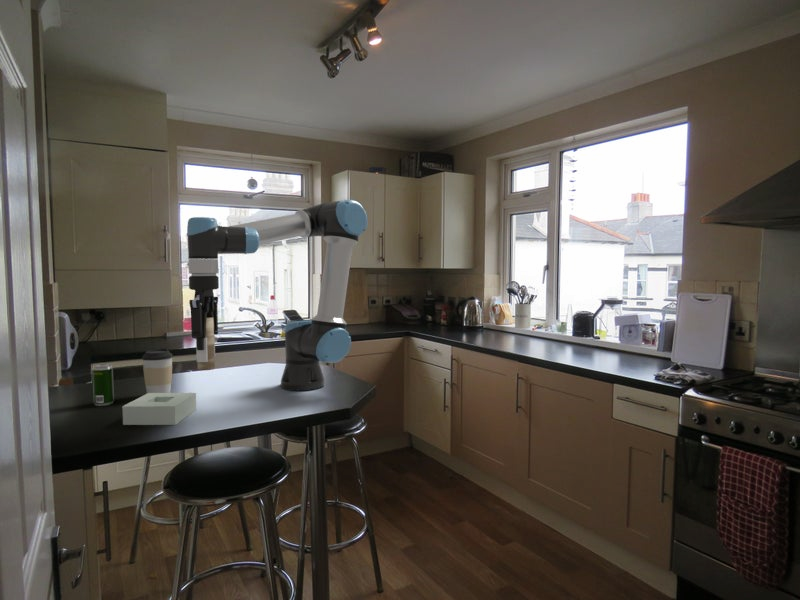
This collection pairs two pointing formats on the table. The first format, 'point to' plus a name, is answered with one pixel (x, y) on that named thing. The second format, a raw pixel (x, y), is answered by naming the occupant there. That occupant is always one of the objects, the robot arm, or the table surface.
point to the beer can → (103, 384)
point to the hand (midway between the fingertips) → (206, 359)
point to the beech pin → (209, 346)
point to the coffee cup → (157, 371)
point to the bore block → (159, 409)
